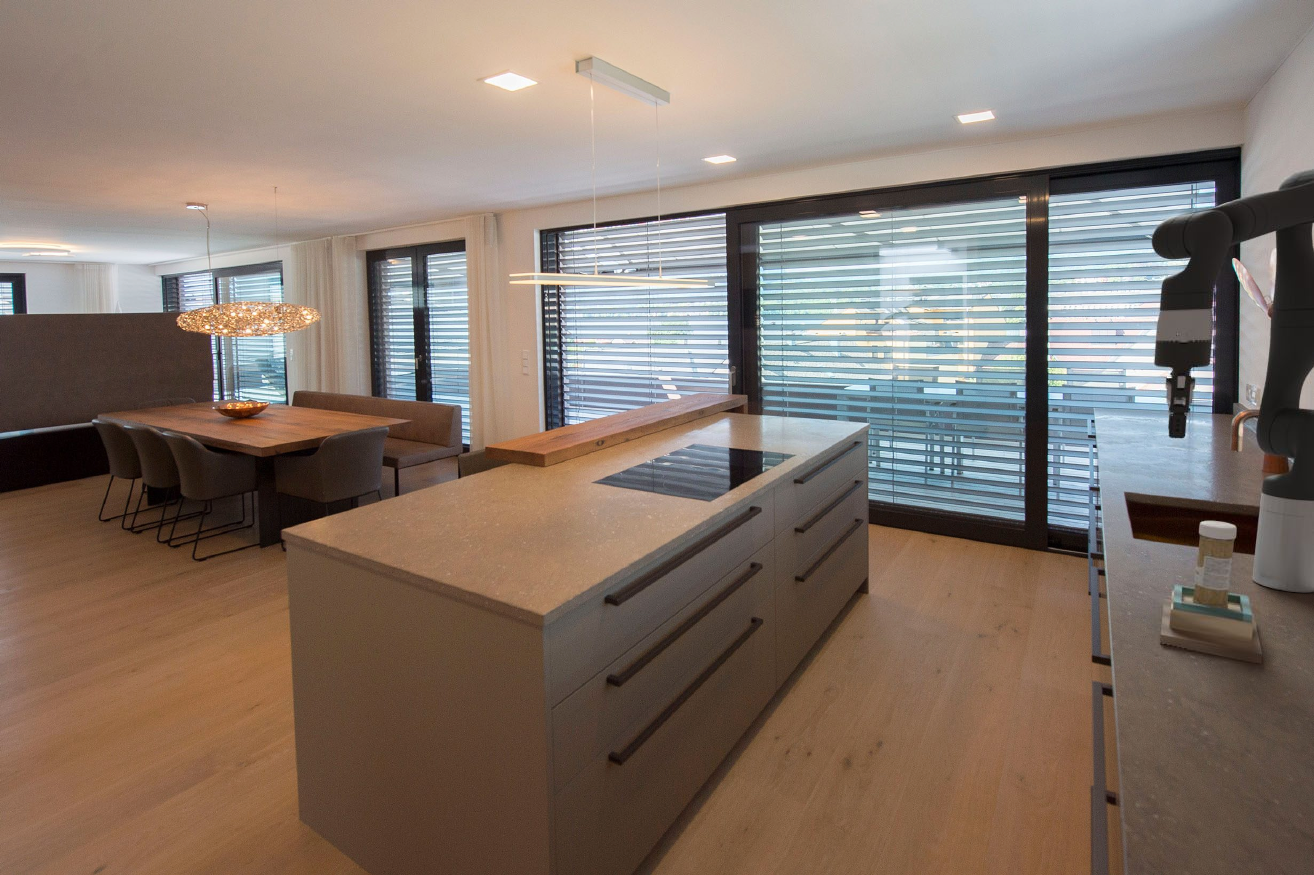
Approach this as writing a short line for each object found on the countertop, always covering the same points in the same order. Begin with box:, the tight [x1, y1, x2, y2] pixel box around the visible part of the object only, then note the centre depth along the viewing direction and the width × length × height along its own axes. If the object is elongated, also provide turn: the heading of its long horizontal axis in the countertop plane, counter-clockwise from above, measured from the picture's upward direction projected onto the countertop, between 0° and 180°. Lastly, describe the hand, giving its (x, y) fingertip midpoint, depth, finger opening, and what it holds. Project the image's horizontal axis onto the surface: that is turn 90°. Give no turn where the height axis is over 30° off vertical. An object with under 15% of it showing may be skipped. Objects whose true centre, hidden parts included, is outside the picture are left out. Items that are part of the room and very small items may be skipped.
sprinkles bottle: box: [1193, 520, 1238, 609], centre depth 111 cm, size 5×5×13 cm
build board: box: [1159, 583, 1263, 665], centre depth 113 cm, size 18×12×6 cm, turn 143°
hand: (1176, 434), depth 120 cm, fingers open, 8 cm apart
